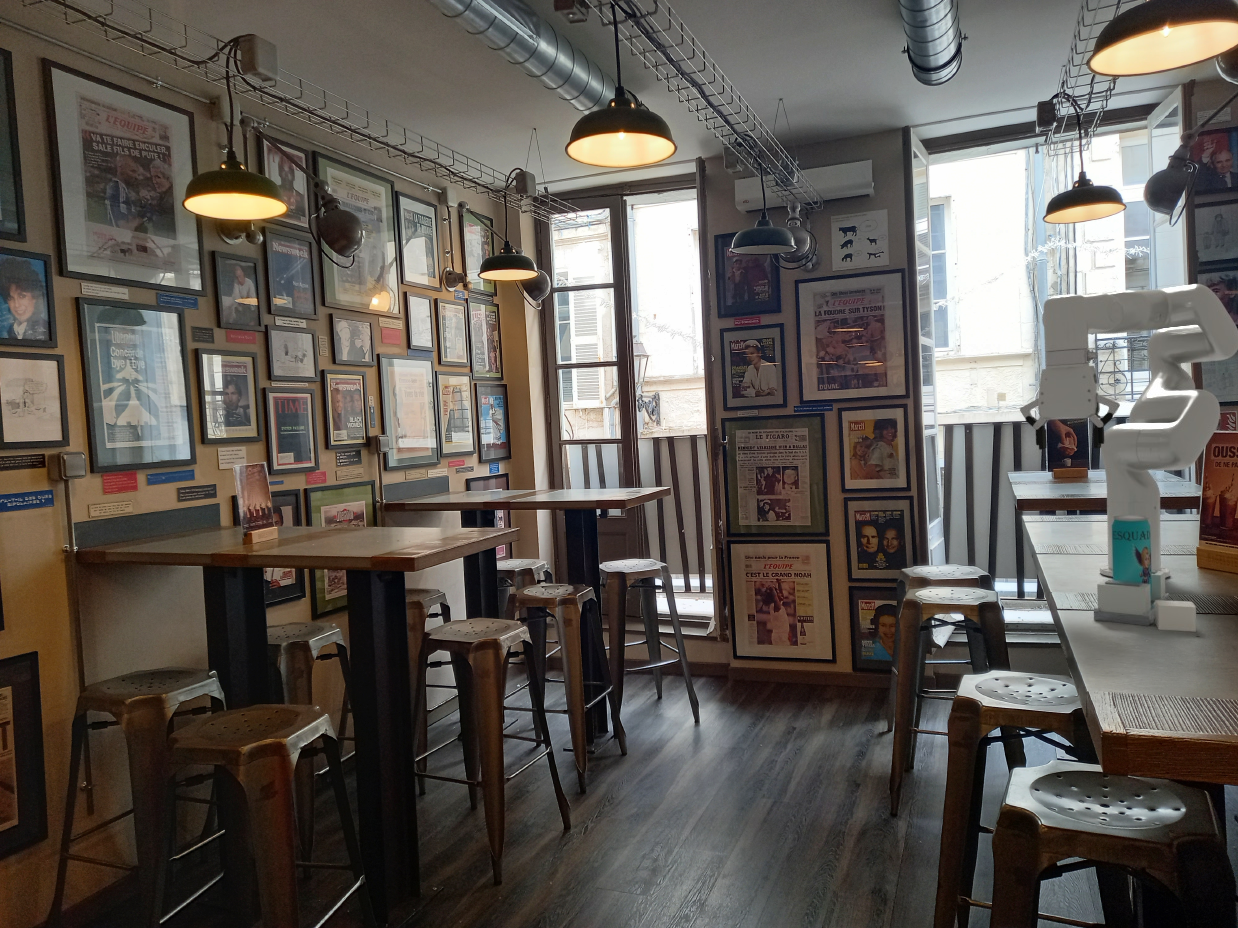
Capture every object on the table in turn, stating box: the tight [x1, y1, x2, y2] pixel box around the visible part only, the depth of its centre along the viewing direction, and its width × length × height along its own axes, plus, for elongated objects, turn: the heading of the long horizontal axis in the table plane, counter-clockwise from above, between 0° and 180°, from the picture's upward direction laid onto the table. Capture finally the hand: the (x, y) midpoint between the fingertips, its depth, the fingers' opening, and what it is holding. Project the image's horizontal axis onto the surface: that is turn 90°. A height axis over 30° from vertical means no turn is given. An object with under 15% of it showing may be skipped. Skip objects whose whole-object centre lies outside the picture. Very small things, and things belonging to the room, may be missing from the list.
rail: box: [1093, 592, 1170, 627], centre depth 149 cm, size 18×8×2 cm, turn 139°
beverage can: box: [1112, 515, 1152, 597], centre depth 149 cm, size 6×6×15 cm
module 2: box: [1151, 570, 1166, 600], centre depth 154 cm, size 4×7×5 cm, turn 49°
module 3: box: [1154, 600, 1197, 632], centre depth 138 cm, size 4×5×4 cm
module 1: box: [1096, 579, 1151, 615], centre depth 144 cm, size 4×7×5 cm, turn 48°
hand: (1069, 448), depth 168 cm, fingers open, 9 cm apart
